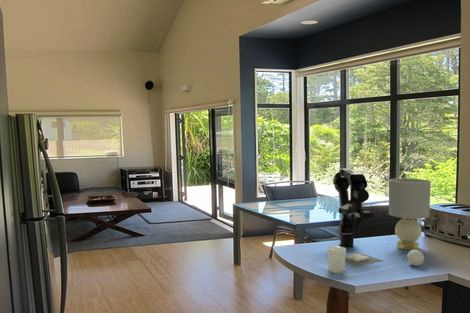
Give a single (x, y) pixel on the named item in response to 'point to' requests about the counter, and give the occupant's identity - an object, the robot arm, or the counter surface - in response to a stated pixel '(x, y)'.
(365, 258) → the tile
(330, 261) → the white cup
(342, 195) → the robot arm
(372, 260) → the mat
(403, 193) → the lamp
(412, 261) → the seamed sphere
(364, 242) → the counter surface
